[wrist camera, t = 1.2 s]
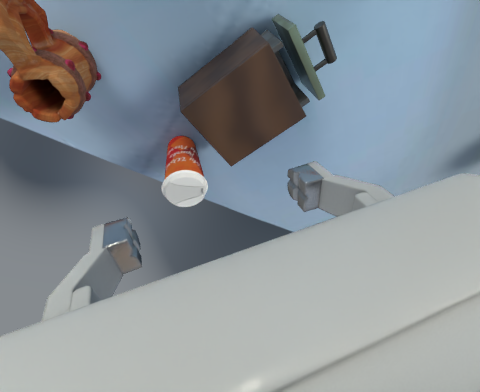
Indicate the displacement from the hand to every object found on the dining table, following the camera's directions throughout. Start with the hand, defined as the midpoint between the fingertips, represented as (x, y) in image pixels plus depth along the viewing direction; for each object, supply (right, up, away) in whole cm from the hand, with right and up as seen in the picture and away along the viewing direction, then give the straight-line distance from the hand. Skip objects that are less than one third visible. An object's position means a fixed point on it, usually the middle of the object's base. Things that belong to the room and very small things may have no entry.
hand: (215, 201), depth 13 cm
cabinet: (0, +20, +36) cm, 41 cm away
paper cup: (-11, +10, +42) cm, 44 cm away
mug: (-25, +23, +26) cm, 42 cm away
